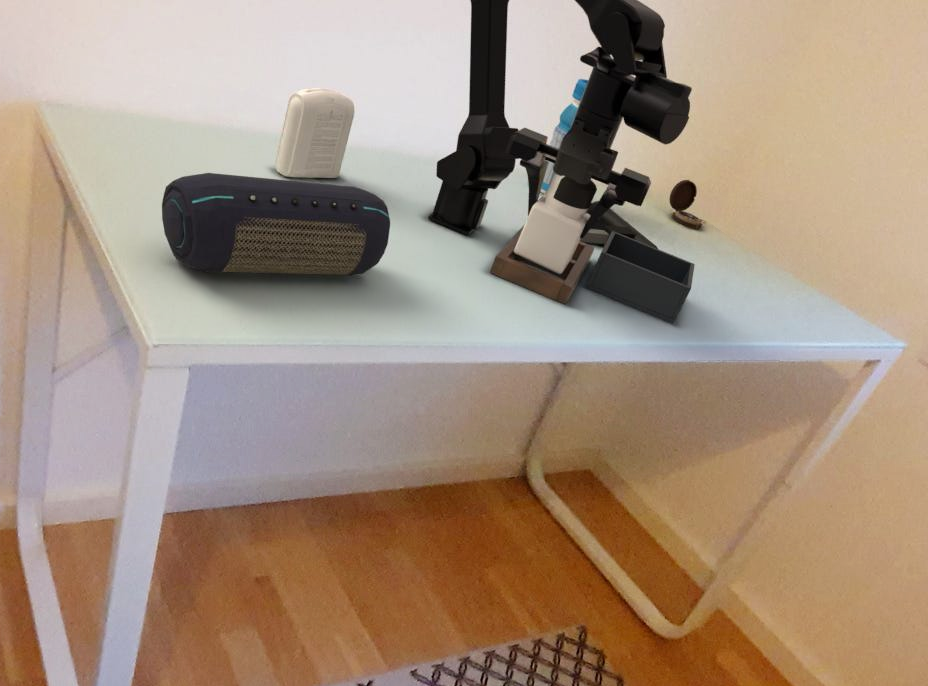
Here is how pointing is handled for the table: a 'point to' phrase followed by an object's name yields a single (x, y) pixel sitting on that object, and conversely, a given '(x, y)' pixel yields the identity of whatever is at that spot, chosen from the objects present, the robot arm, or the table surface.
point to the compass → (684, 203)
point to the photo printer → (315, 134)
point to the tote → (642, 277)
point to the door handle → (611, 228)
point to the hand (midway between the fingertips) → (555, 226)
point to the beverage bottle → (564, 128)
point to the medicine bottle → (556, 223)
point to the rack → (539, 279)
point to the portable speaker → (273, 225)
